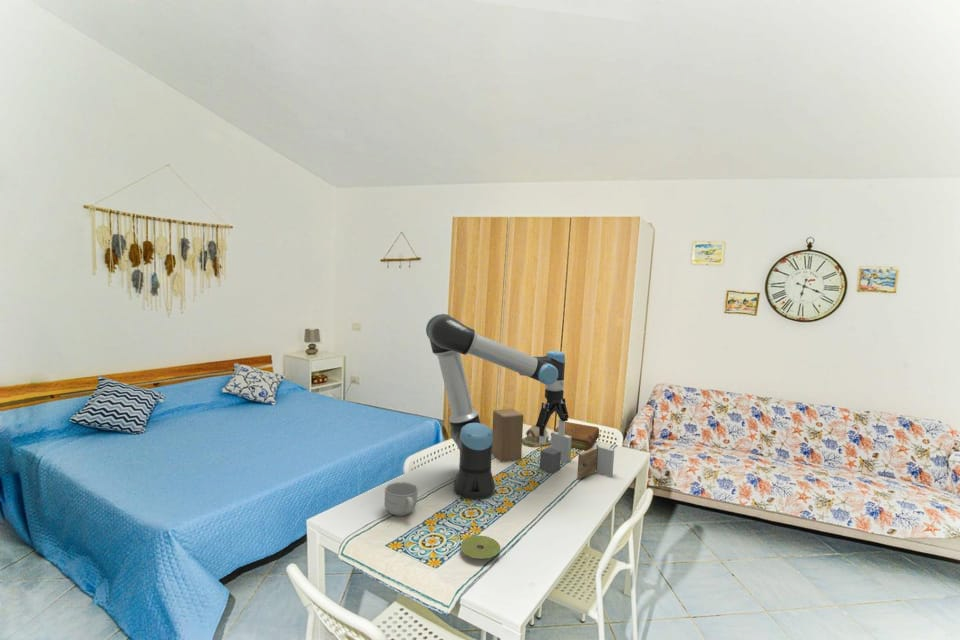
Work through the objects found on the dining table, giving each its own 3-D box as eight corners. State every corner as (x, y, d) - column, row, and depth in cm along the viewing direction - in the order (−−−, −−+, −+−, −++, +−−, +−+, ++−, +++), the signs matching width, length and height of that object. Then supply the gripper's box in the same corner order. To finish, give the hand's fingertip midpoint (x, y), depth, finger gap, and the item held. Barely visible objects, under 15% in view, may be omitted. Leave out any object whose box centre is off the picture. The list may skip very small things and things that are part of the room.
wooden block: (490, 453, 205) (492, 410, 203) (510, 451, 209) (512, 408, 208) (501, 462, 196) (503, 416, 194) (521, 459, 200) (523, 414, 198)
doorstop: (551, 473, 186) (552, 454, 186) (539, 469, 190) (540, 450, 190) (559, 469, 191) (561, 451, 190) (547, 465, 195) (548, 447, 194)
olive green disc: (487, 538, 138) (487, 531, 138) (507, 558, 128) (507, 551, 128) (453, 547, 132) (453, 540, 132) (471, 569, 123) (471, 562, 122)
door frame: (609, 477, 185) (611, 450, 184) (549, 456, 205) (551, 432, 204) (612, 475, 187) (614, 449, 186) (552, 455, 206) (554, 431, 205)
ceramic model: (535, 436, 231) (536, 417, 230) (554, 443, 223) (555, 423, 222) (517, 443, 221) (518, 422, 220) (536, 449, 213) (537, 428, 212)
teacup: (381, 505, 155) (382, 482, 154) (413, 501, 159) (414, 478, 158) (388, 526, 142) (389, 501, 141) (423, 521, 146) (424, 497, 145)
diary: (589, 453, 213) (590, 441, 212) (550, 445, 221) (550, 433, 220) (598, 438, 234) (599, 427, 233) (562, 431, 241) (563, 420, 241)
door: (600, 471, 190) (602, 446, 189) (582, 480, 180) (584, 453, 180) (595, 469, 191) (596, 444, 190) (577, 478, 182) (578, 451, 181)
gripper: (544, 395, 176) (541, 449, 178) (578, 386, 194) (575, 435, 196) (528, 392, 181) (526, 444, 183) (563, 383, 199) (560, 430, 201)
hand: (552, 439), depth 190 cm, fingers open, 13 cm apart
